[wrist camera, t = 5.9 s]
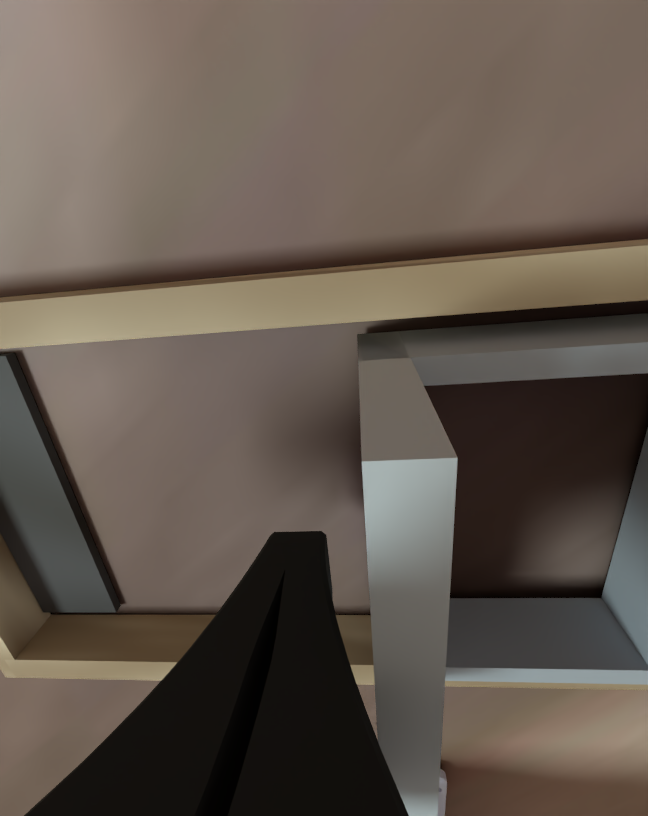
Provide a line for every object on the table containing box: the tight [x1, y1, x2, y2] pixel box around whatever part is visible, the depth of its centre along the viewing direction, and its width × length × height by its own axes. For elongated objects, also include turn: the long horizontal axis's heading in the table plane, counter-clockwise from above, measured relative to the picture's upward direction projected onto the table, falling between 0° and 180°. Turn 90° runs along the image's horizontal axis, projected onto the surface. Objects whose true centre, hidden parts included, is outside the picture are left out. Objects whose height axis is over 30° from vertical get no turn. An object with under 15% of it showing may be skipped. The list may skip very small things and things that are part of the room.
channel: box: [0, 239, 648, 690], centre depth 11 cm, size 13×24×3 cm, turn 95°
